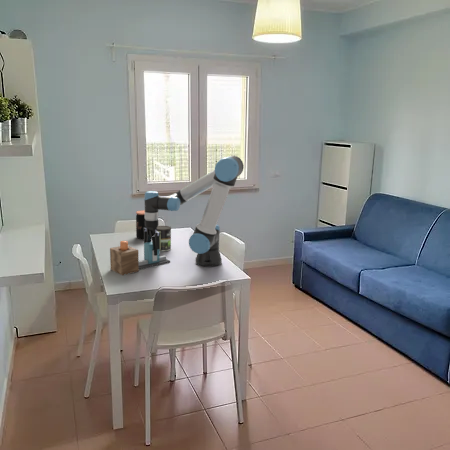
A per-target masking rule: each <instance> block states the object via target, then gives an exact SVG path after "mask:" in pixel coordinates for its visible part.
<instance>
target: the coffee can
mask: <svg viewBox="0 0 450 450" xmlns="http://www.w3.org/2000/svg"><path fill="white" fill-rule="evenodd" d="M157 231H158V232H160V252H169V251H171V250H172V245H171V244H172V243H171V241H172V238H171V237H172V227H171V226H169V225H158V226H157Z"/></svg>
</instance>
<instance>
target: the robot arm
mask: <svg viewBox="0 0 450 450" xmlns="http://www.w3.org/2000/svg"><path fill="white" fill-rule="evenodd" d="M243 172H244V163H243V160H242V159H241V158H240V157H238V156H237V155H229V156H226V157H225V156H224V157H221V158H220V159H218V161H217V162H216V164H215V166H214V169H212V170H211V171H209V172H208V173H207V174H205V175H203V176H201V177H200V178H198V179H196V180H195V181H193V182H192V183H189V184H187V186H184V187H183V188H181V189H180V190H178V191H176V192H174V193H171V194H169V195H167V196H165V195H159V192H158V191H155V190H149V191H145V192H144V199H143V200H144V210H145V226H146V228H143V231H144V239H143V244H144V243H147V242H152V244H153V249H152V261H157V250H158V249H160V232H158V231H157V226H159V210H162V211H171V212H177V211H179V209H180V207H181V206H182V205H183V204H185V203H187V202H188V201H190V200H192V199H194V198H195V197H197V196H199V195H200V194H203V193H204V192H206V191H207V190H209V189H211V188H212V189H211V192H210V195H209V197H208V200H207V203H206V205H205V208H204V212H203V214H202V216H201V220H200V222H199V223H197V224H196V226H195V227H194V230H193V233H192V234H191V235H190V237H189V239H188V246H189V248H190V250H191V251H192V252H193V253H196V257H195V264H196V265H198V266H201V267H218V266H220V265H222V261H223V260H222V256H221V253H220V232H221V230H220V229H221V228H220V225H219V224H218V221H219V219H220V216H221V214H222V210H223V208H224V206H225V203H226V202H227V201H226V200H227V198H228V195H229V192H230V189H231V188H234V187H235V185H236V182H237V180H238V177H239V176H240V175H242V173H243Z"/></svg>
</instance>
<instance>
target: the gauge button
mask: <svg viewBox="0 0 450 450" xmlns="http://www.w3.org/2000/svg"><path fill="white" fill-rule="evenodd" d="M119 244H120V250H121V251H125V250H128V246H129V241H128V240H120V241H119Z"/></svg>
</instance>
